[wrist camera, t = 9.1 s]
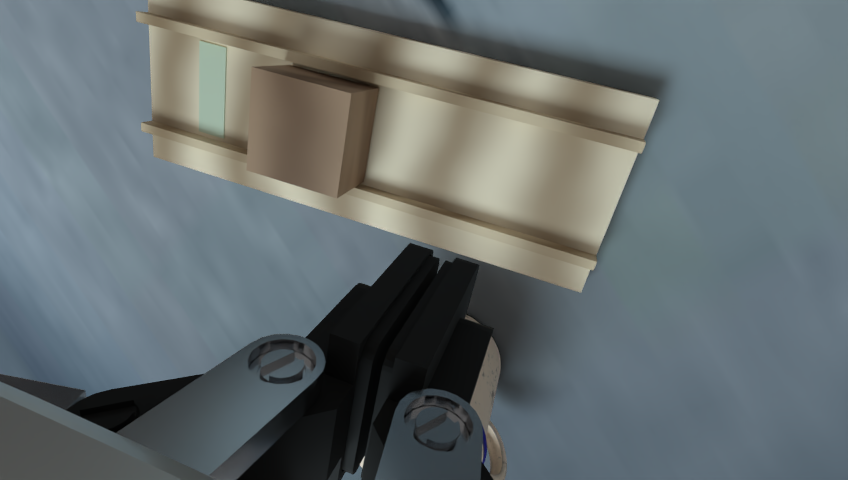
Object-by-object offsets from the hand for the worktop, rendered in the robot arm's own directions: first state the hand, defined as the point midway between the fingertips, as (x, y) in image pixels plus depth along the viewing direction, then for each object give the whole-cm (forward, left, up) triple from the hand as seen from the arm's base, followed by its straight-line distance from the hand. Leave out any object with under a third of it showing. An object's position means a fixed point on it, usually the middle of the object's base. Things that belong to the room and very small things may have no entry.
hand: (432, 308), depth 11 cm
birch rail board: (+10, +1, -20) cm, 22 cm away
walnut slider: (+12, +1, -19) cm, 22 cm away
